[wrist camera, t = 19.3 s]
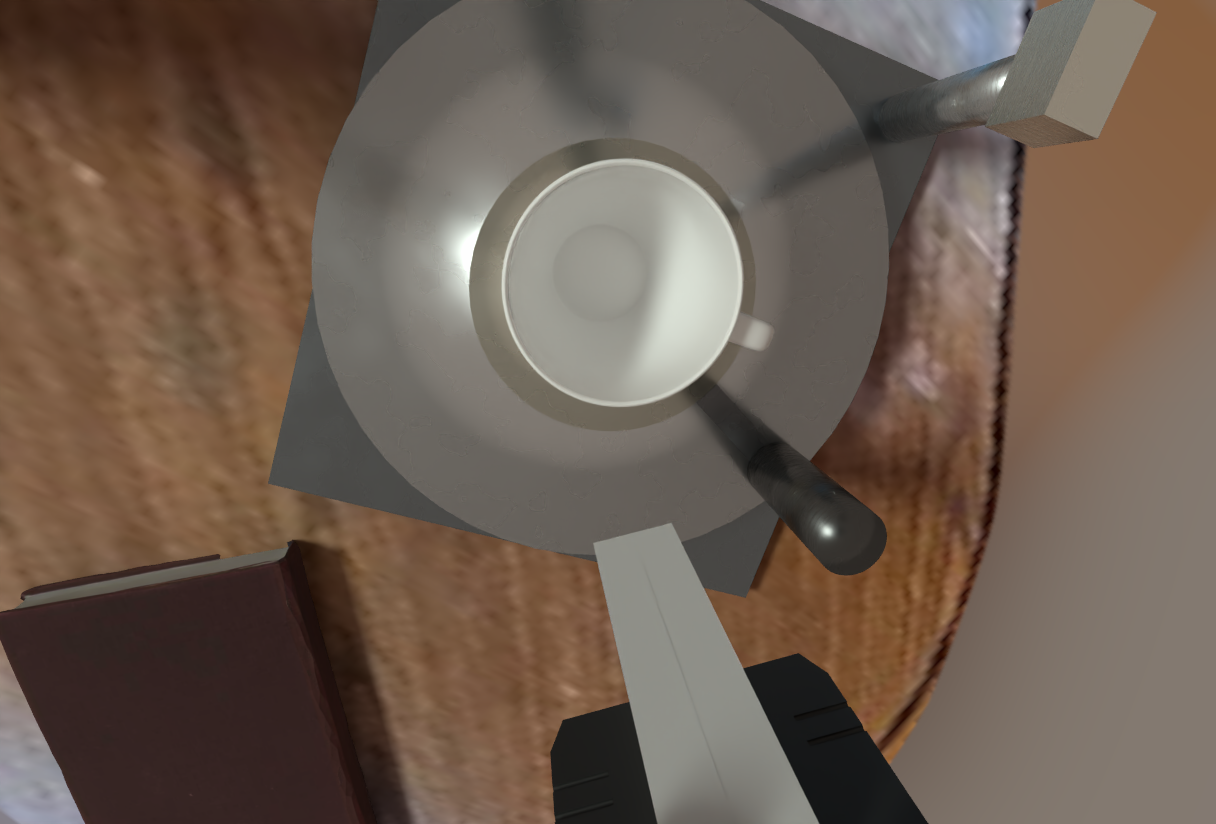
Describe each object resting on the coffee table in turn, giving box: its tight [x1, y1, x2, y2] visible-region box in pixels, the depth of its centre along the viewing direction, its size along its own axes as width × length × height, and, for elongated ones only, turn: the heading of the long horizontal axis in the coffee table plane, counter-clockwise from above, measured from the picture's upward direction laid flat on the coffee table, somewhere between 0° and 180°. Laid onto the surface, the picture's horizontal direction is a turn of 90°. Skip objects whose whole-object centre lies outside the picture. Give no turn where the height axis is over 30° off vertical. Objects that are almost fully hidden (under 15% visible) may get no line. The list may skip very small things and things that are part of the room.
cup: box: [501, 158, 775, 407], centre depth 25 cm, size 8×10×7 cm
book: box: [0, 540, 377, 824], centre depth 33 cm, size 12×19×3 cm, turn 7°
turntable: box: [312, 0, 889, 575], centre depth 25 cm, size 24×24×10 cm
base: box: [268, 0, 1156, 598], centre depth 25 cm, size 26×24×12 cm
